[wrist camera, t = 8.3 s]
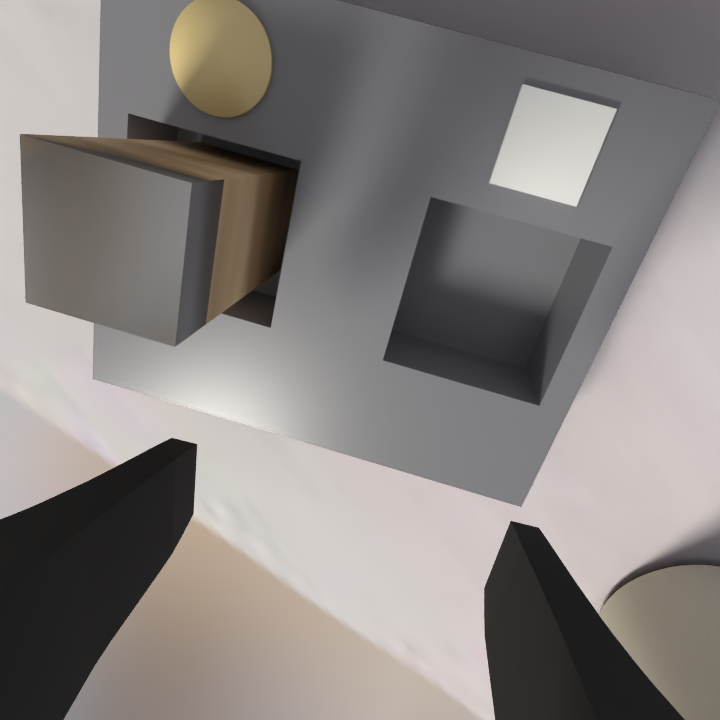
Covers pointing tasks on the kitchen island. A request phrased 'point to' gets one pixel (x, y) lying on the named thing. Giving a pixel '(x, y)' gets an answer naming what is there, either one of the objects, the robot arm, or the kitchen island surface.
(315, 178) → the socket block
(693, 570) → the travel mug
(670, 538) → the kitchen island surface
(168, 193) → the plug
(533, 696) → the robot arm
